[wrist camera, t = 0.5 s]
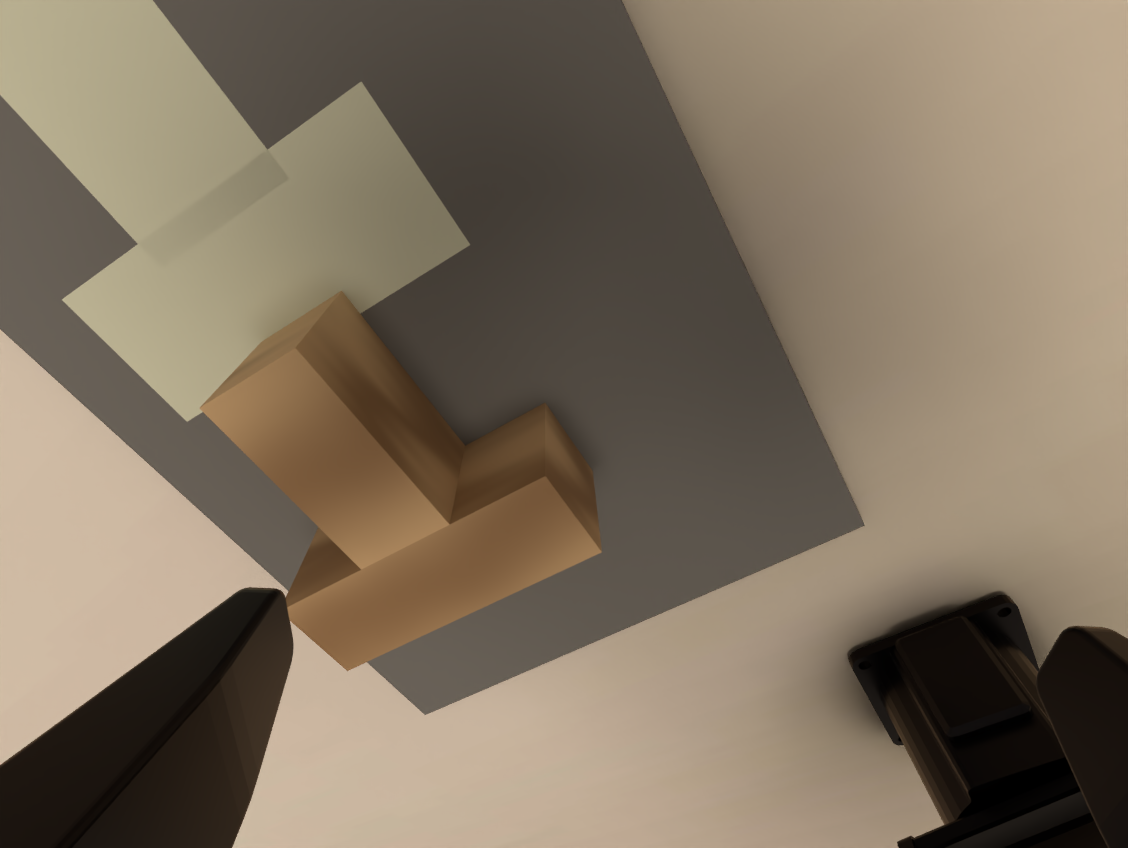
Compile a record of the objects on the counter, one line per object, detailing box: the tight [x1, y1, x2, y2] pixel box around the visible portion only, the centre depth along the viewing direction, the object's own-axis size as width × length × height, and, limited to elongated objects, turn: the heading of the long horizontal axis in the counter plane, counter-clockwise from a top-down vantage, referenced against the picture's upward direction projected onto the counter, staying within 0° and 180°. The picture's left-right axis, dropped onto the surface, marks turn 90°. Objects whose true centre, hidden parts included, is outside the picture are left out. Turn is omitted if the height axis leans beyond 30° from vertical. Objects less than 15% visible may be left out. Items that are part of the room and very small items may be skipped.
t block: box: [200, 291, 602, 671], centre depth 19 cm, size 9×9×4 cm
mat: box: [0, 0, 865, 715], centre depth 20 cm, size 26×19×1 cm
